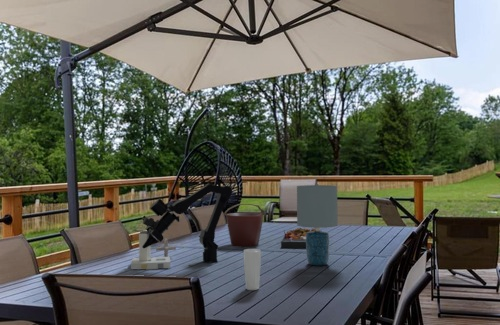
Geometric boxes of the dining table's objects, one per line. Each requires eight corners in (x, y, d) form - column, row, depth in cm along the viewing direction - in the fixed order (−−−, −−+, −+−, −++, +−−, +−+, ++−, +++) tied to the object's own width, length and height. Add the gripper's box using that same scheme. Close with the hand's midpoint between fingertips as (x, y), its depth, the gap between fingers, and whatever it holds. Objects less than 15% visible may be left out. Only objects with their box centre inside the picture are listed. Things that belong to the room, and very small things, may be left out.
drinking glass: (260, 286, 191) (260, 248, 192) (261, 291, 185) (261, 251, 185) (243, 286, 191) (243, 248, 191) (243, 291, 184) (243, 251, 185)
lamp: (290, 262, 240) (290, 185, 240) (325, 259, 246) (324, 184, 247) (309, 269, 222) (308, 187, 222) (345, 266, 228) (344, 186, 229)
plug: (150, 259, 234) (150, 230, 235) (147, 261, 231) (146, 231, 231) (143, 259, 235) (142, 230, 235) (139, 261, 231) (138, 231, 232)
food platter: (323, 249, 279) (323, 231, 279) (281, 249, 282) (280, 231, 282) (324, 238, 323) (324, 222, 323) (287, 237, 327) (287, 222, 327)
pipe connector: (157, 260, 248) (157, 240, 248) (155, 256, 258) (155, 238, 258) (176, 259, 251) (176, 239, 251) (174, 255, 260) (174, 237, 260)
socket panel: (170, 262, 242) (170, 256, 242) (170, 268, 228) (170, 262, 228) (133, 264, 239) (133, 258, 239) (130, 270, 225) (130, 263, 225)
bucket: (266, 242, 305) (265, 202, 305) (263, 248, 283) (263, 205, 283) (227, 242, 307) (227, 202, 307) (221, 247, 285) (221, 205, 285)
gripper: (149, 209, 243) (127, 233, 239) (156, 213, 226) (132, 238, 222) (165, 224, 246) (143, 248, 242) (173, 229, 229) (149, 254, 225)
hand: (142, 246), depth 232 cm, fingers closed on plug, 5 cm apart
